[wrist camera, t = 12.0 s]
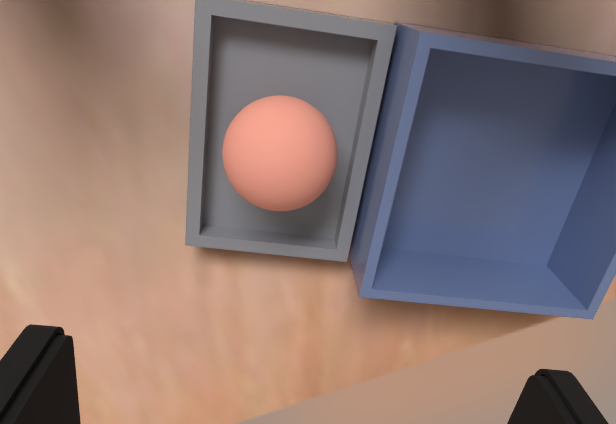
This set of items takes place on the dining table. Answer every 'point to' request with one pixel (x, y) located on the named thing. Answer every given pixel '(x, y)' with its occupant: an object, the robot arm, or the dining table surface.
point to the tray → (288, 82)
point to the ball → (279, 153)
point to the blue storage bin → (490, 177)
